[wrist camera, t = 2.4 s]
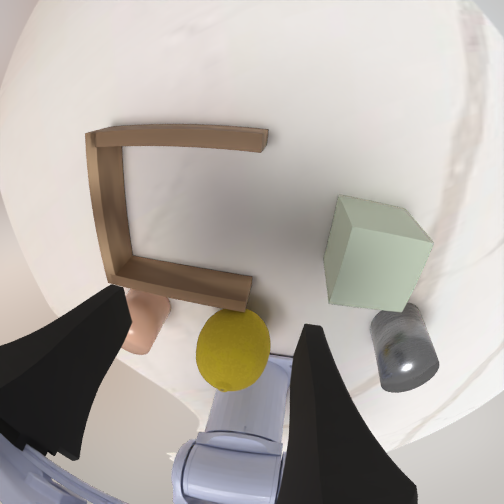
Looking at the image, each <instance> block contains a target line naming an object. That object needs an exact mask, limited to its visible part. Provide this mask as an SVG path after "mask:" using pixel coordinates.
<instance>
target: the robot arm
mask: <svg viewBox="0 0 504 504" xmlns="http://www.w3.org/2000/svg"><path fill="white" fill-rule="evenodd" d="M131 324H132V319H131V315H130V312H129V308H128V304H127V300H126V296H125V292H124V288H123V287H120V286H116V285H113V284H111V285H109V286H108V287H106V288H104V289H103V290H101V291H100V292H98V293H97V294H95V295H94V296H92V297H90V298H89V299H87V300H86V301H84V302H83V303H81V304H80V305H78V306H77V307H75V308H74V309H72V310H71V311H69V312H68V313H66V314H64V315H63V316H61V317H60V318H58V319H56V320H55V321H53V322H52V323H50V324H48V325H46V326H45V327H43V328H41V329H39V330H37V331H35V332H33V333H31V334H29V335H27V336H24V337H22V338H20V339H17V340H15V341H13V342H10V343H7V344H4V345H1V346H0V501H1V502H2V504H87V501H86V500H88V501H90V502H91V503H93V504H128V503H126V502H123V501H121V500H119V499H117V498H114V497H112V496H110V495H108V494H106V493H104V492H102V491H100V490H98V489H97V488H95V487H93V486H91V485H89V484H87V483H86V482H84V481H82V480H80V479H79V478H77V477H75V476H74V475H72V474H70V473H69V472H67V471H66V470H64V469H62V468H61V467H59V466H58V465H56V464H55V463H54V462H52V461H51V460H49V459H48V458H46V457H45V456H46V454H47V452H49V453H50V454H52V455H53V456H55V455H56V453H57V452H59V453H61V454H62V455H64V456H65V457H67V458H69V459H70V460H72V461H75V460H78V459H79V457H80V450H81V444H82V438H83V434H84V430H85V426H86V422H87V419H88V416H89V412H90V409H91V406H92V403H93V401H94V398H95V396H96V393H97V391H98V388H99V386H100V384H101V382H102V380H103V378H104V376H105V375H106V373H107V371H108V369H109V367H110V366H111V364H112V362H113V361H114V359H115V357H116V355H117V354H118V352H119V350H120V348H121V347H122V345H123V343H124V341H125V339H126V337H127V334H128V332H129V329H130V327H131ZM289 385H290V422H289V439H288V446H287V452H283V455H282V460H281V454H282V446H283V443H281V441H282V433H283V424H284V414H285V404H286V394H287V390H288V388H289ZM51 478H53V479H54V480H56V481H57V482H58V483H60V484H61V485H60V484H57V483H55V482H53V481H52V479H51ZM62 485H63V486H62ZM172 485H173V503H174V504H418V503H417V501H418V499H417V498H418V494H417V488H416V485H415V484H414V483H413V482H412V481H411V480H410V479H409V478H408V477H407V476H406V475H405V474H404V473H403V472H402V471H401V470H400V469H399V468H398V467H397V465H396V464H395V463H394V462H393V461H392V459H391V458H390V457H389V456H388V455H387V453H386V452H385V451H384V449H383V448H382V447H381V445H380V444H379V442H378V441H377V440H376V438H375V437H374V436H373V434H372V433H371V431H370V430H369V428H368V427H367V425H366V423H365V422H364V420H363V418H362V417H361V415H360V413H359V412H358V410H357V408H356V406H355V404H354V403H353V401H352V399H351V397H350V395H349V393H348V391H347V389H346V387H345V384H344V382H343V380H342V378H341V376H340V373H339V371H338V369H337V366H336V364H335V361H334V359H333V356H332V354H331V351H330V349H329V346H328V343H327V340H326V337H325V334H324V331H323V328H322V327H321V326H318V325H311V324H304V327H303V330H302V333H301V336H300V339H299V341H298V344H297V347H296V350H295V353H294V356H293V358H290V357H283V356H276V355H269V358H268V362H267V365H266V367H265V369H264V371H263V373H262V374H261V376H260V377H259V378H258V380H257V381H256V382H255V383H254V384H252V385H251V386H249V387H247V388H245V389H242V390H239V391H227V392H221V391H219V390H218V389H217V390H216V393H215V397H214V400H213V404H212V408H211V411H210V415H209V418H208V422H207V425H206V429H205V432H199V433H198V436H197V439H190V440H189V441H187V442H186V443H184V444H183V445H182V446H181V447H180V449H179V451H178V452H177V455H176V457H175V460H174V464H173V468H172ZM64 486H65V487H64ZM83 498H84V499H86V500H84V499H83Z"/></svg>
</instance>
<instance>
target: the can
mask: <svg viewBox="0 0 504 504" xmlns="http://www.w3.org/2000/svg"><path fill="white" fill-rule="evenodd" d="M370 330H371V335H372V340H373V345H374V349H375V355H376V360H377V365H378V371H379V376H380V382H381V387H382V388H383V389H384V390H385V391H388V392H395V393H397V392H404V391H408V390H412V389H414V388H417V387H419V386H421V385H422V384H424V383H426V382H427V381H428V380H430V379H431V378H432V377H433V376H434V375H435V374H436V372H437V371H438V368H439V361H438V358H437V355H436V352H435V349H434V347H433V344H432V341H431V339H430V336H429V333H428V331H427V328H426V326H425V323H424V321H423V319H422V316H421V314H420V312H419V309H418V308H417V307H416V306H415V305H413V304H410V303H407V304H406V306H405V307H404V309H403V311H402V312H394V311H385V310H382V311H380V312H379V313H378V314H377V315H376V316H375V318H374V319H373V321H372V323H371V327H370Z"/></svg>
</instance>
